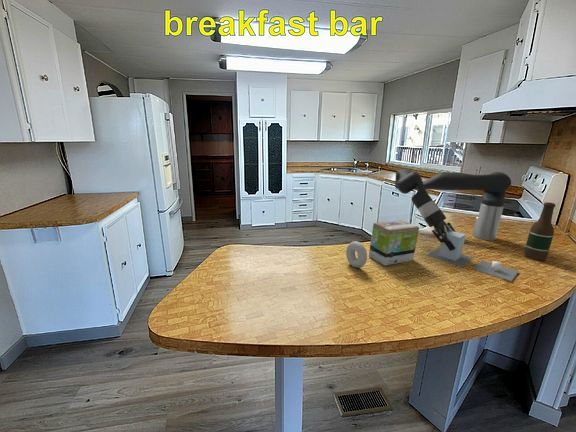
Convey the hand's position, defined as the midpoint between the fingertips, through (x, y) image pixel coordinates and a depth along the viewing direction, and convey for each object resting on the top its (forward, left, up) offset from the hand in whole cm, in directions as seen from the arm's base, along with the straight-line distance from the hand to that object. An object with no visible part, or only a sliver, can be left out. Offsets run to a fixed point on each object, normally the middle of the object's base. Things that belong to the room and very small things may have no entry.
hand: (456, 247), depth 117 cm
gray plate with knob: (+13, +7, -5) cm, 15 cm away
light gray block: (-1, -1, -4) cm, 5 cm away
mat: (-1, -1, -5) cm, 5 cm away
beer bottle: (+4, +37, -5) cm, 38 cm away
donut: (+2, -45, -5) cm, 45 cm away
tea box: (-3, -27, -5) cm, 28 cm away
